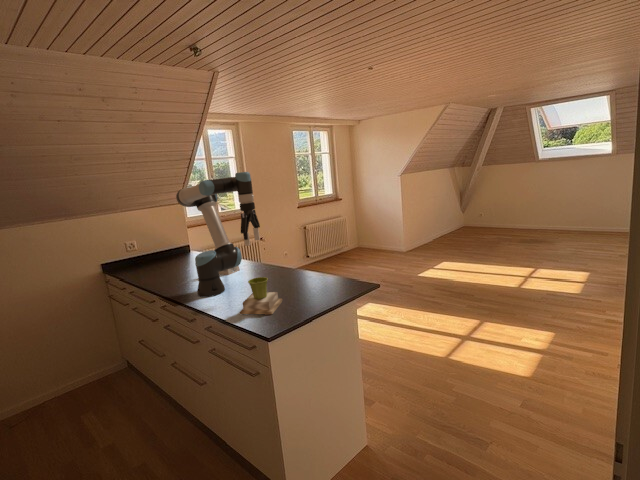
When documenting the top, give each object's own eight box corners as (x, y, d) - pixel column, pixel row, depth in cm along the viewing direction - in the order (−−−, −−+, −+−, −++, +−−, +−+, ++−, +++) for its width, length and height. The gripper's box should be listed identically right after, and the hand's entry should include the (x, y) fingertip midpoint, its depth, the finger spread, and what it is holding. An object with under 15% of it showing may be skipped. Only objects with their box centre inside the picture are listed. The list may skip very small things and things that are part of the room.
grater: (239, 270, 250) (235, 242, 246) (228, 274, 242) (224, 245, 238) (229, 269, 256) (224, 241, 252) (217, 273, 247) (213, 245, 243)
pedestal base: (240, 314, 170) (238, 303, 169) (252, 302, 186) (251, 291, 185) (272, 314, 167) (270, 303, 166) (282, 301, 182) (281, 290, 181)
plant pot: (251, 295, 180) (249, 278, 178) (270, 292, 180) (268, 276, 179) (249, 301, 171) (247, 284, 169) (269, 299, 171) (267, 281, 169)
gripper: (244, 204, 174) (250, 247, 178) (262, 199, 198) (267, 237, 202) (229, 206, 175) (236, 248, 179) (249, 200, 199) (254, 238, 203)
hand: (252, 242), depth 191 cm, fingers open, 13 cm apart
